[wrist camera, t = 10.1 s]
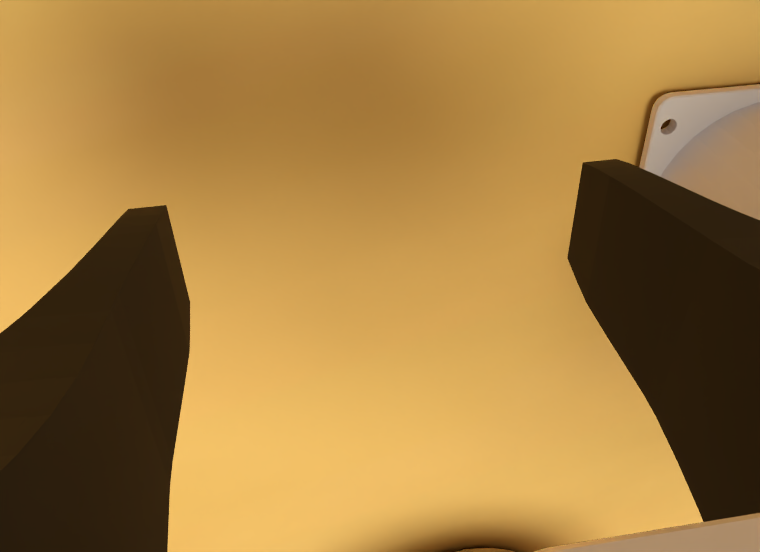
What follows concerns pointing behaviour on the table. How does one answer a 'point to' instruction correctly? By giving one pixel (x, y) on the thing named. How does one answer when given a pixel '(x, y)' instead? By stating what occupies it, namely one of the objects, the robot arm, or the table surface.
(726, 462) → the robot arm
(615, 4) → the table surface
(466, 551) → the planter bowl
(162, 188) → the table surface
